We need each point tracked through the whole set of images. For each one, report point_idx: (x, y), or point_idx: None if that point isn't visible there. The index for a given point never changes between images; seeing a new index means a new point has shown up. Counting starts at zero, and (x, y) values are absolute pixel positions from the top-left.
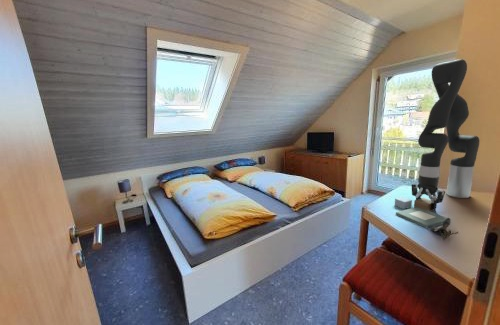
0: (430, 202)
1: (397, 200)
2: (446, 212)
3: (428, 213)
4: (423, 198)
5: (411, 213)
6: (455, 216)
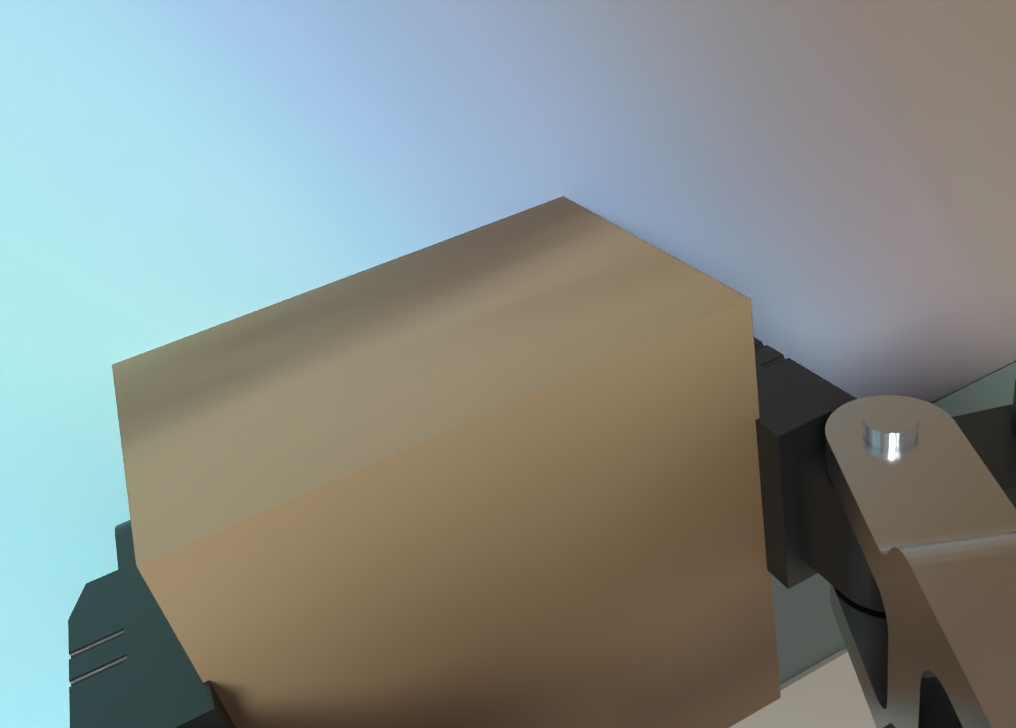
0: (696, 533)
1: None
2: (794, 14)
3: (820, 634)
4: (217, 585)
5: None
6: (1011, 5)
